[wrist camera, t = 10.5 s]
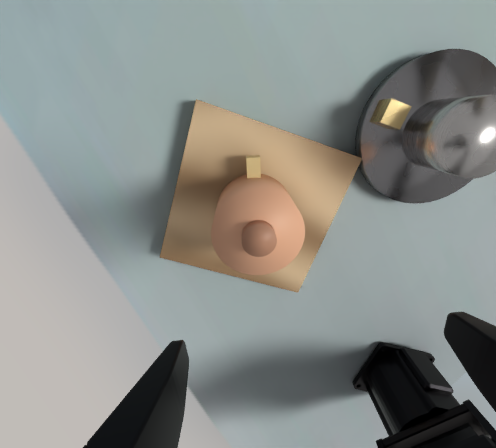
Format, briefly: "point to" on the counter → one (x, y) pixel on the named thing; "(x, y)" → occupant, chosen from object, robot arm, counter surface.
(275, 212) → the cap
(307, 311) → the counter surface
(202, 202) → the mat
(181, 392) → the robot arm
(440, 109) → the metal flange
